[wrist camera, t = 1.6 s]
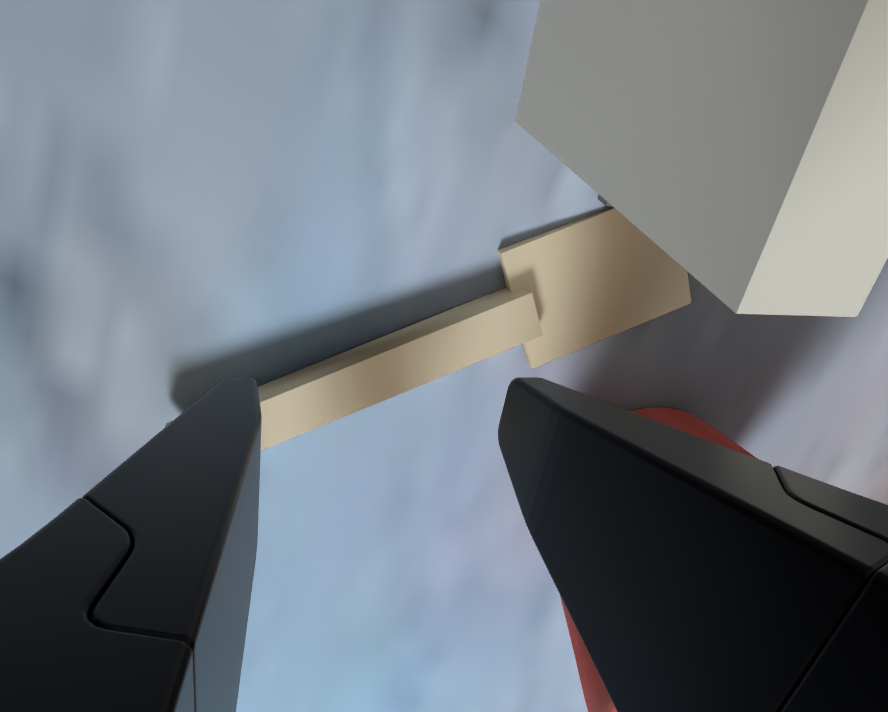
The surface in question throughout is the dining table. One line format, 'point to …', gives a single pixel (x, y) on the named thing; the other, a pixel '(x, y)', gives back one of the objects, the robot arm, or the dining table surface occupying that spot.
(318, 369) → the spatula
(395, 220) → the dining table surface
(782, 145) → the tile
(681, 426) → the flower pot
